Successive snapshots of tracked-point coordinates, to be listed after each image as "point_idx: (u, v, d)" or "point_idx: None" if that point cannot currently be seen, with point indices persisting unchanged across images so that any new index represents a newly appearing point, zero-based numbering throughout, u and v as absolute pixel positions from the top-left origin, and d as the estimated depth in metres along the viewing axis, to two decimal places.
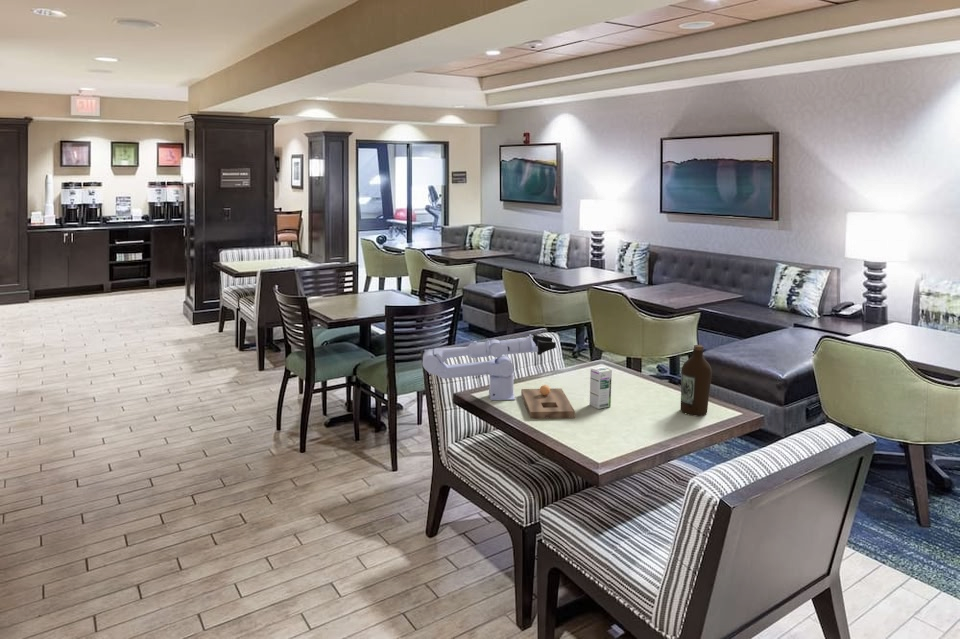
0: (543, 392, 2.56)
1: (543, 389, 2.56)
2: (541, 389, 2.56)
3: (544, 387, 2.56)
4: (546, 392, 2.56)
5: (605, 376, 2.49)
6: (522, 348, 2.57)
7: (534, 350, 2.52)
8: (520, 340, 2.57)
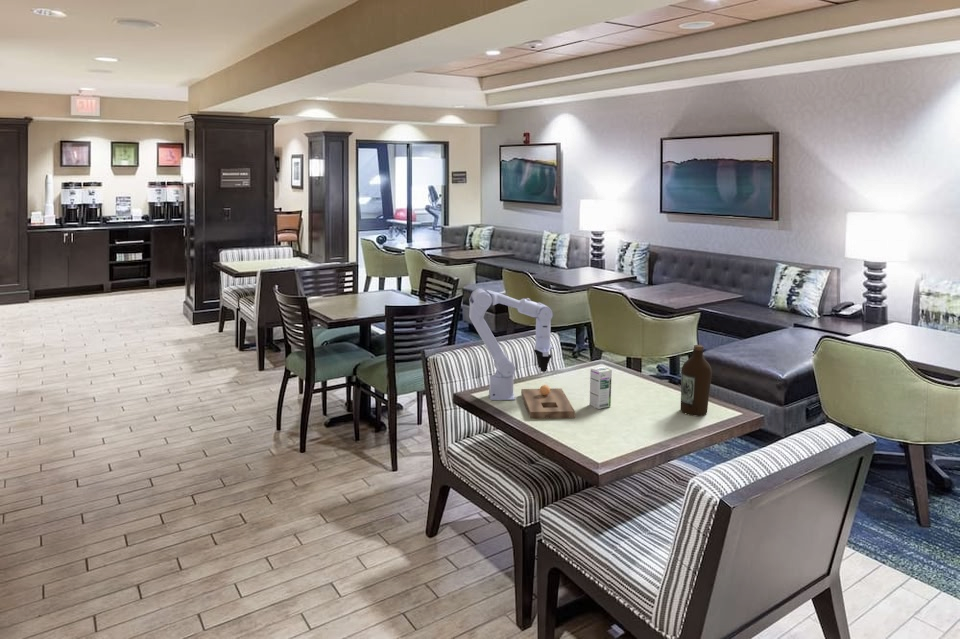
0: (543, 392, 2.56)
1: (543, 389, 2.56)
2: (541, 389, 2.56)
3: (544, 387, 2.56)
4: (546, 392, 2.56)
5: (605, 376, 2.49)
6: (543, 340, 2.59)
7: (544, 353, 2.55)
8: (549, 337, 2.60)
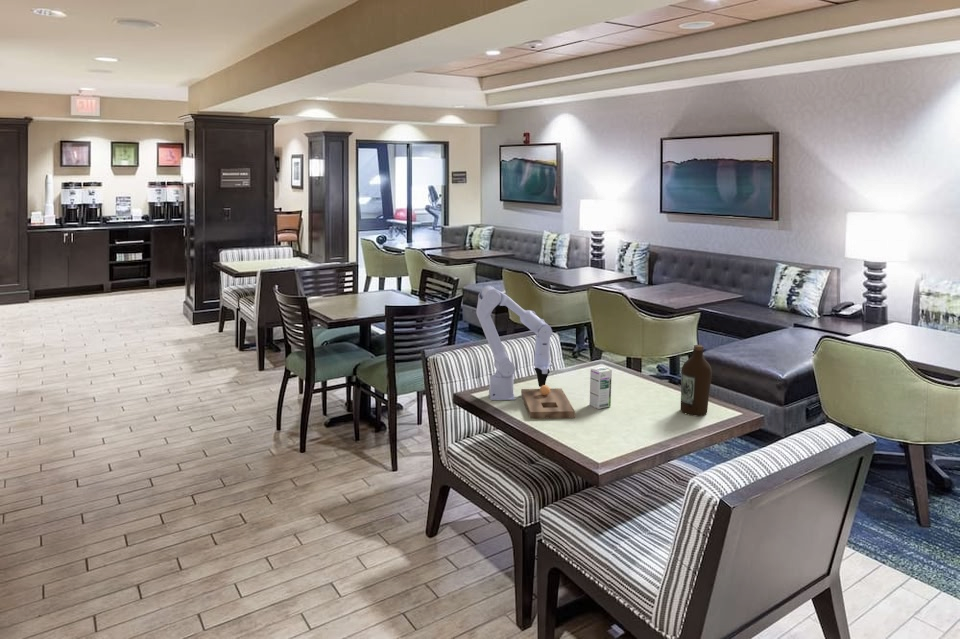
0: (543, 392, 2.56)
1: (543, 389, 2.56)
2: (541, 389, 2.56)
3: (544, 387, 2.56)
4: (546, 392, 2.56)
5: (605, 376, 2.49)
6: (542, 357, 2.60)
7: (544, 370, 2.56)
8: (549, 355, 2.61)
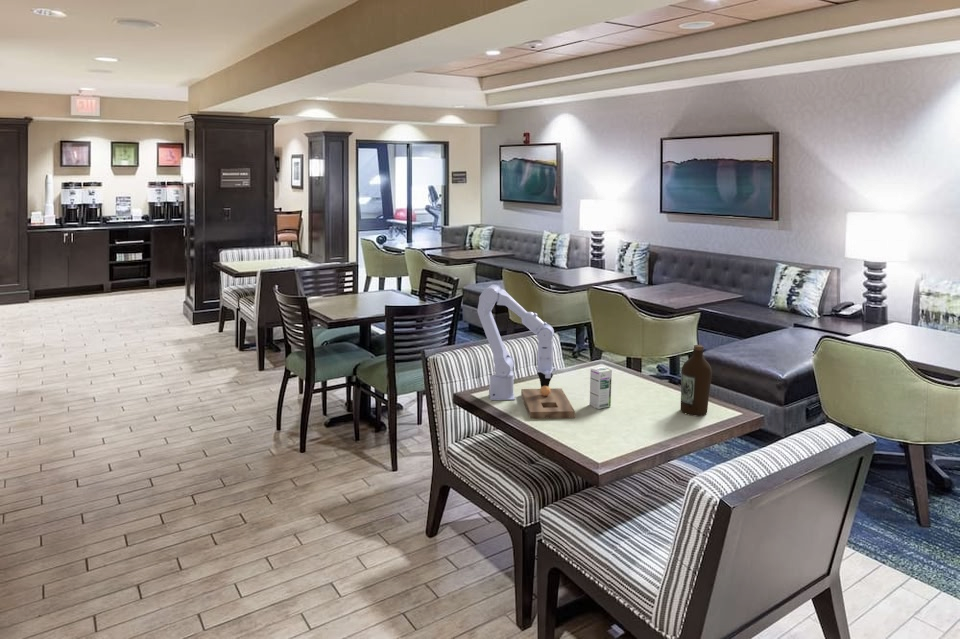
0: (543, 393, 2.56)
1: (543, 391, 2.55)
2: (541, 390, 2.56)
3: (545, 388, 2.55)
4: (546, 393, 2.55)
5: (605, 376, 2.49)
6: (545, 361, 2.54)
7: (547, 375, 2.50)
8: (552, 359, 2.55)
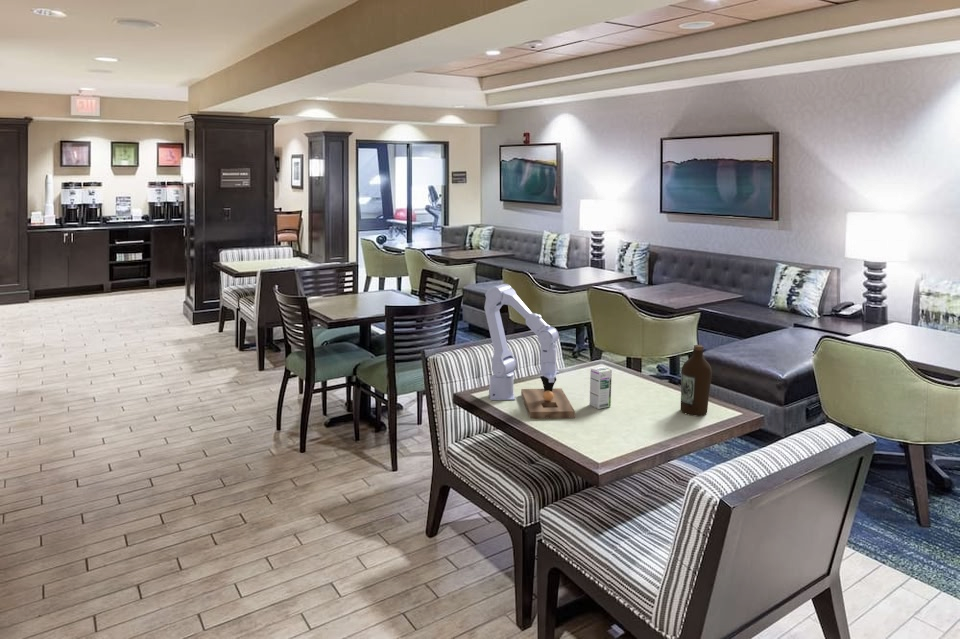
0: None
1: None
2: None
3: None
4: None
5: (605, 377, 2.49)
6: (548, 365, 2.47)
7: (550, 379, 2.44)
8: (555, 362, 2.49)
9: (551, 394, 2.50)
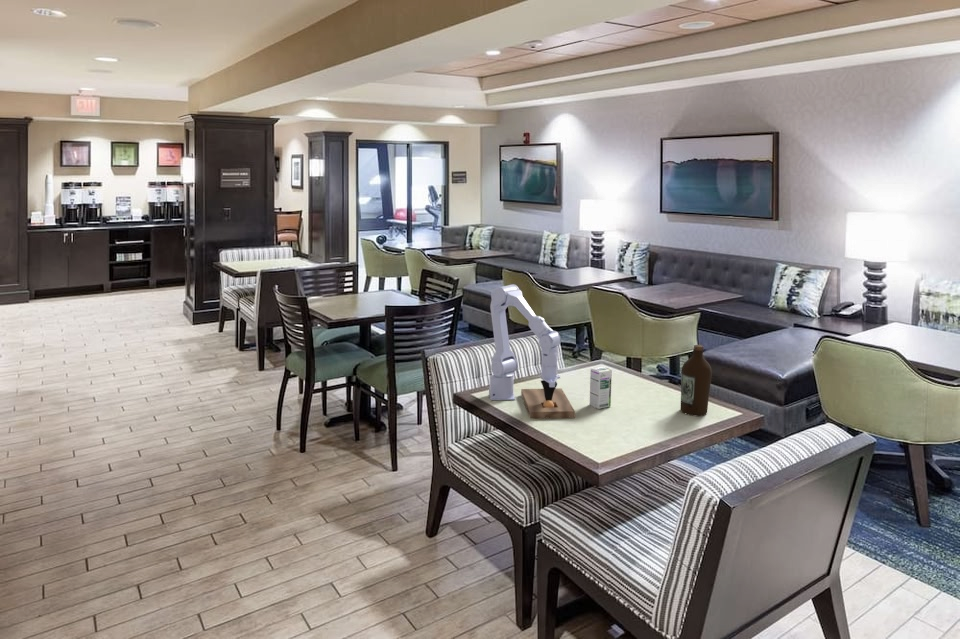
0: (547, 404, 2.46)
1: (546, 402, 2.47)
2: (544, 403, 2.47)
3: (547, 400, 2.48)
4: (550, 404, 2.46)
5: (605, 376, 2.49)
6: (549, 369, 2.44)
7: (551, 383, 2.40)
8: (556, 367, 2.45)
9: None
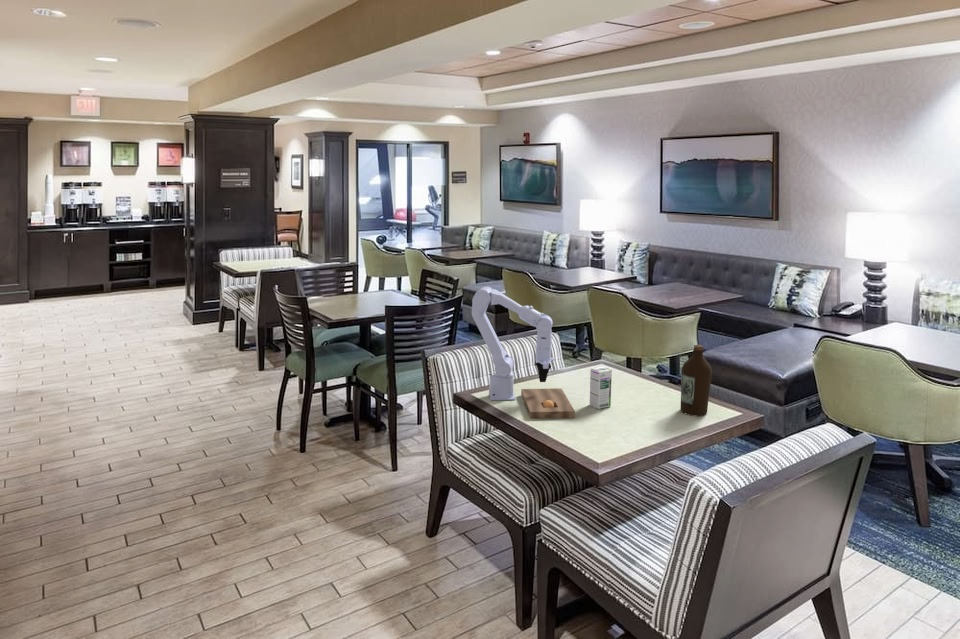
0: (546, 404, 2.46)
1: (546, 402, 2.47)
2: (544, 402, 2.47)
3: (547, 400, 2.48)
4: (549, 404, 2.46)
5: (605, 377, 2.49)
6: (543, 351, 2.54)
7: (545, 365, 2.50)
8: (550, 349, 2.55)
9: None
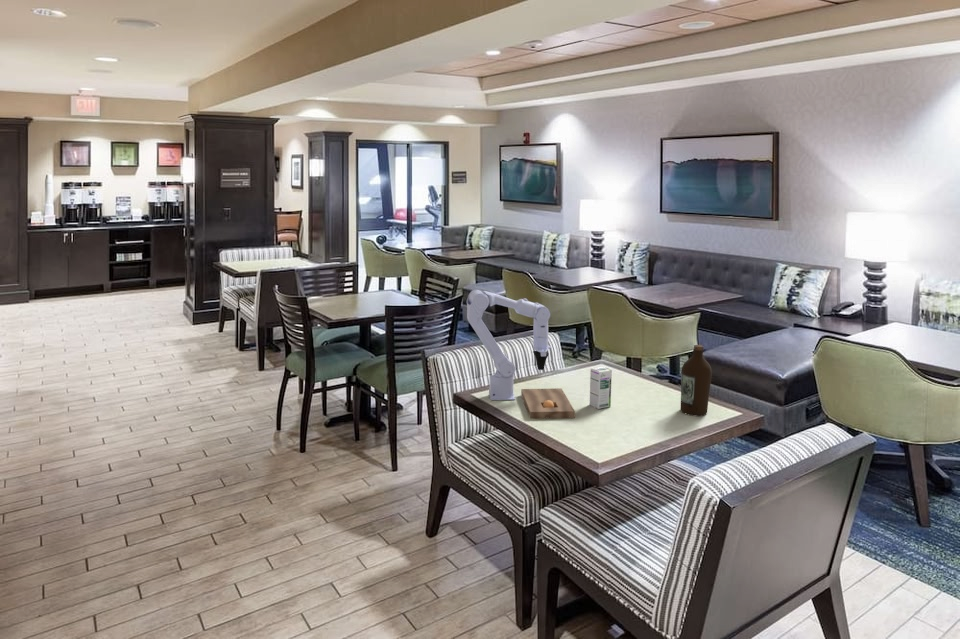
0: (546, 404, 2.46)
1: (546, 402, 2.47)
2: (544, 403, 2.47)
3: (547, 400, 2.48)
4: (550, 404, 2.46)
5: (605, 376, 2.49)
6: (540, 340, 2.59)
7: (542, 353, 2.55)
8: (547, 337, 2.60)
9: None
